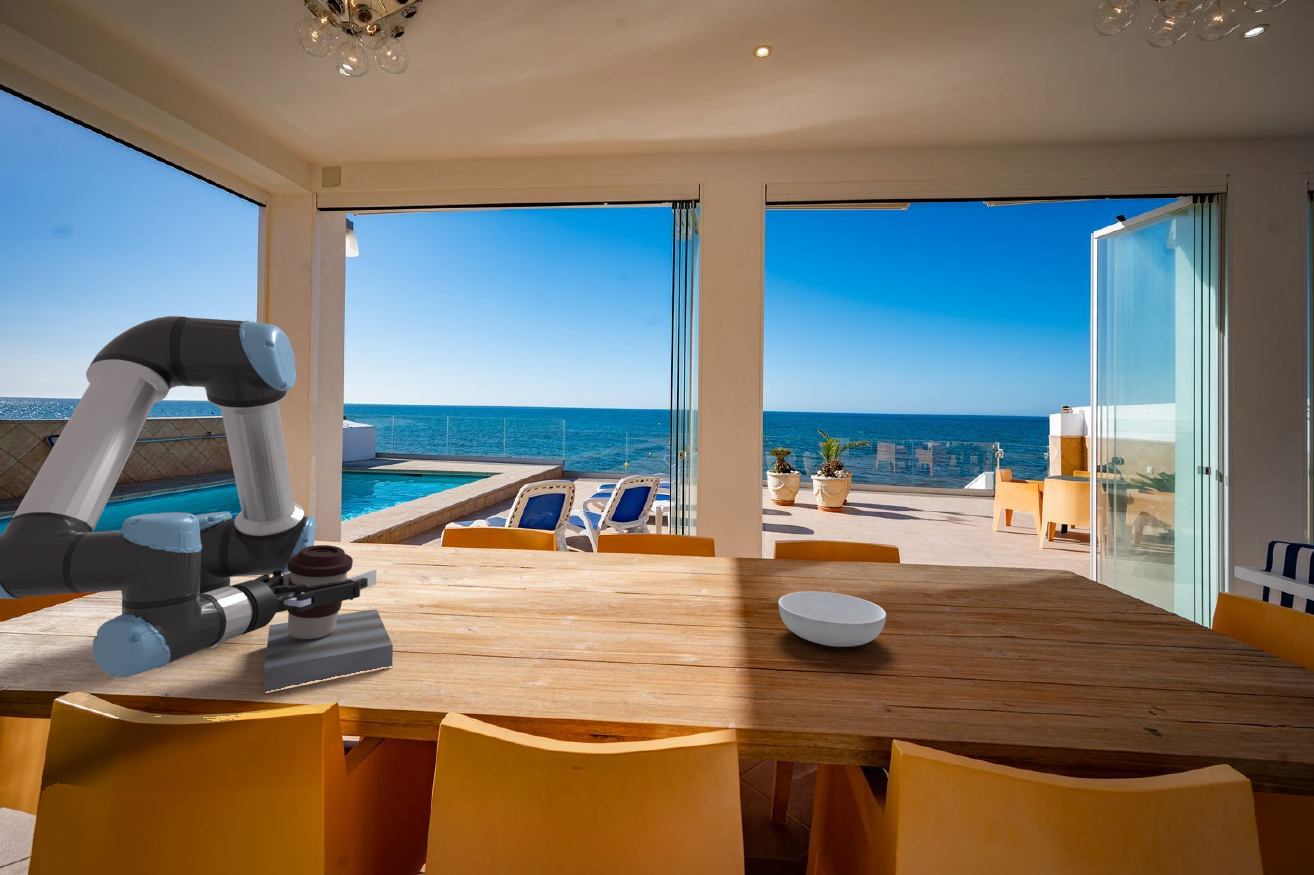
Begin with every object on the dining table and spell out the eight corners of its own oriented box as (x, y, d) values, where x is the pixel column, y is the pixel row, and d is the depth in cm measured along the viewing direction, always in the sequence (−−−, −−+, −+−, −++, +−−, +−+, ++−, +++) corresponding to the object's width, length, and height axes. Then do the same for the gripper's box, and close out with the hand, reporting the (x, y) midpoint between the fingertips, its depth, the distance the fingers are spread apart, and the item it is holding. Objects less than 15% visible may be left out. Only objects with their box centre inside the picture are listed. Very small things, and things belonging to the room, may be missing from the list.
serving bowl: (896, 665, 99) (897, 627, 99) (778, 653, 103) (779, 617, 103) (874, 625, 119) (875, 594, 119) (776, 617, 123) (777, 587, 123)
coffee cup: (320, 648, 93) (332, 563, 92) (264, 637, 93) (275, 553, 92) (354, 624, 103) (365, 548, 102) (303, 615, 103) (313, 538, 102)
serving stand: (269, 646, 102) (269, 625, 102) (376, 628, 112) (376, 609, 112) (264, 694, 84) (264, 668, 84) (392, 667, 94) (392, 644, 94)
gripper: (167, 629, 83) (288, 590, 104) (303, 643, 78) (401, 599, 99) (167, 580, 83) (289, 550, 104) (304, 591, 78) (402, 558, 99)
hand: (344, 574), depth 102 cm, fingers open, 12 cm apart
